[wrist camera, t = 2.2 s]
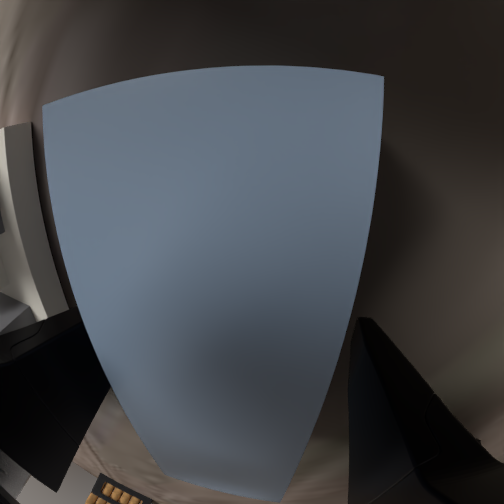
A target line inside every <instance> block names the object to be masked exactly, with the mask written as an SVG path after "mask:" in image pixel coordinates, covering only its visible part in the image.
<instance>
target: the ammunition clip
mask: <svg viewBox="0 0 504 504" xmlns="http://www.w3.org/2000/svg"><path fill="white" fill-rule="evenodd" d="M105 485H106V486H105ZM104 487H105V488H104ZM113 490H114V491H113ZM112 492H113V493H112ZM111 494H112V495H111ZM110 496H111V497H110ZM131 497H132V498H131ZM98 498H99V499H98ZM97 499H98V500H97ZM119 499H120V500H119ZM130 499H131V500H130ZM96 501H97V502H96ZM118 501H119V502H118ZM129 501H130V502H129ZM140 501H141V502H140ZM151 502H152V499H150V498H148V497H146V496H144V495H142V494H139V493H137V492H135V491H133V490H131V489H129V488H127V487H125V486H123V485H122V484H120V483H118V482H116V481H114V480H112V479H111V478H109V477H107V476H105V475H104V474H102V473H100V475H99V477H98V479H97V481H96V483H95V485H94V487H93V489H92V492H91V493H90V495H89V497H88V499H87V500H86V503H85V504H95V503H96V504H106V503H107V504H128V503H129V504H139V503H140V504H151Z"/></svg>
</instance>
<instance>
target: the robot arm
mask: <svg viewBox="0 0 504 504" xmlns="http://www.w3.org/2000/svg"><path fill="white" fill-rule="evenodd" d="M110 387H111V385H110V383H109V381H108V379H107V376H106V374H105V372H104V370H103V368H102V366H101V364H100V361H99V359H98V357H97V354H96V352H95V350H94V347H93V345H92V343H91V340H90V338H89V335H88V333H87V330H86V328H85V325H84V322H83V320H82V317H81V314H80V311H79V308H78V306H77V307H74V308H71V309H69V310H66V311H64V312H61V313H59V314H56V315H54V316H51V317H49V318H46V320H45V319H43V320H41V321H38V322H36V323H33V324H31V325H28V326H25V327H23V328H20V329H17V330H14V331H11V332H8V333H5V334H2V335H0V504H20V503H19V502H18V501H17V500H16V498H17V497H18V495H19V494H20V492H21V490H22V489H23V487H24V486H25V484H26V483H27V481H28V480H29V478H30V476H31V475H32V476H33V477H34V478H36V479H37V480H38V481H40V482H41V483H43V484H44V485H46V486H47V487H49V488H50V489H51V490H53V491H54V492H57V491H58V490H59V488H60V486H61V483H62V481H63V479H64V477H65V475H66V473H67V470H68V468H69V466H70V464H71V462H72V460H73V458H74V456H75V454H76V452H77V450H78V448H79V445H80V444H81V442H82V440H83V438H84V436H85V434H86V432H87V430H88V428H89V426H90V424H91V422H92V420H93V419H94V417H95V415H96V413H97V411H98V409H99V407H100V405H101V404H102V402H103V400H104V398H105V396H106V394H107V393H108V391H109V389H110ZM348 406H349V488H348V504H504V464H503V463H501V462H499V461H498V460H496V459H495V458H494V457H493V456H492V455H491V454H489V452H488V451H487V450H486V449H485V448H484V447H483V446H482V445H481V442H480V440H476V439H475V438H474V437H473V436H472V435H471V434H470V432H469V431H468V430H467V429H466V428H465V427H464V426H463V425H462V424H461V423H460V422H459V421H458V420H457V419H456V417H455V416H454V415H453V414H452V413H451V412H450V411H449V409H448V408H447V407H446V406H445V405H444V403H443V402H442V401H441V400H440V398H439V397H438V396H437V395H436V394H434V391H433V390H432V389H431V387H430V386H429V385H428V384H427V382H426V381H425V380H424V379H423V378H422V376H421V375H420V374H419V373H418V371H417V370H416V369H415V368H414V367H413V365H412V364H411V363H410V362H409V361H408V359H407V358H406V357H405V356H404V355H403V354H402V352H401V351H400V350H399V349H398V348H397V347H396V345H395V344H394V343H393V342H392V341H391V340H390V338H389V337H388V336H387V335H386V334H385V333H384V331H383V330H382V329H381V328H380V327H379V326H378V325H377V323H376V322H375V321H374V320H373V319H372V318H367V317H359V318H358V319H357V321H356V324H355V328H354V332H353V335H352V339H351V345H350V365H349V380H348Z"/></svg>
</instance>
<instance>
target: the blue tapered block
mask: <svg viewBox="0 0 504 504" xmlns="http://www.w3.org/2000/svg"><path fill="white" fill-rule="evenodd" d="M383 97H384V76H379V75H373V74H367V73H360V72H353V71H346V70H337V69H328V68H316V67H301V66H230V67H215V68H203V69H194V70H185V71H177V72H170V73H164V74H158V75H152V76H146V77H141V78H136V79H131V80H127V81H122V82H118V83H114V84H110V85H106V86H102V87H98V88H94V89H91V90H87V91H84V92H81V93H77V94H74V95H71V96H68V97H65V98H62V99H59V100H56V101H54V102H51V103H48V104H45V105H43V135H44V150H45V161H46V170H47V178H48V185H49V192H50V198H51V204H52V210H53V215H54V220H55V225H56V230H57V235H58V239H59V243H60V247H61V252H62V255H63V259H64V263H65V267H66V270H67V274H68V277H69V281H70V284H71V287H72V290H73V293H74V297H75V300H76V303H77V305H78V308H79V311H80V314H81V317H82V320H83V322H84V325H85V328H86V330H87V333H88V335H89V338H90V340H91V343H92V345H93V347H94V350H95V352H96V354H97V357H98V359H99V361H100V364H101V366H102V368H103V370H104V372H105V374H106V376H107V379H108V381H109V383H110V385H111V387H112V389H113V391H114V393H115V395H116V396H117V398H118V400H119V402H120V404H121V406H122V408H123V410H124V411H125V413H126V415H127V417H128V418H129V420H130V422H131V424H132V425H133V427H134V429H135V430H136V432H137V434H138V435H139V437H140V439H141V440H142V442H143V443H144V445H145V447H146V448H147V450H148V451H149V453H150V454H151V456H152V457H153V459H154V460H155V462H156V463H157V464H158V466H159V467H160V469H161V470H162V472H163V473H164V474H165V475H167V476H170V477H173V478H176V479H179V480H182V481H185V482H188V483H191V484H195V485H198V486H202V487H205V488H209V489H213V490H216V491H221V492H225V493H229V494H233V495H238V496H243V497H248V498H254V499H259V500H266V501H272V502H281V500H282V498H283V496H284V494H285V492H286V490H287V488H288V486H289V484H290V481H291V479H292V477H293V475H294V473H295V471H296V469H297V466H298V464H299V462H300V460H301V457H302V455H303V453H304V451H305V448H306V446H307V443H308V441H309V439H310V436H311V434H312V431H313V429H314V426H315V424H316V421H317V418H318V416H319V413H320V411H321V408H322V405H323V402H324V400H325V397H326V394H327V391H328V388H329V385H330V382H331V379H332V376H333V373H334V370H335V367H336V364H337V361H338V358H339V354H340V351H341V348H342V344H343V341H344V337H345V334H346V330H347V327H348V323H349V319H350V316H351V312H352V308H353V304H354V300H355V296H356V292H357V287H358V283H359V279H360V274H361V269H362V265H363V260H364V255H365V250H366V245H367V240H368V234H369V228H370V223H371V217H372V210H373V204H374V197H375V190H376V182H377V174H378V165H379V156H380V145H381V133H382V118H383Z"/></svg>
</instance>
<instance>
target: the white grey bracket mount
mask: <svg viewBox="0 0 504 504" xmlns="http://www.w3.org/2000/svg"><path fill="white" fill-rule="evenodd" d="M66 310H69V308H68V305H67V302H66V299H65V296H64V293H63V291H62V287H61V284H60V281H59V278H58V275H57V272H56V268H55V265H54V261H53V258H52V254H51V250H50V247H49V243H48V239H47V234H46V230H45V226H44V221H43V216H42V211H41V206H40V201H39V195H38V189H37V182H36V175H35V167H34V158H33V147H32V132H31V122H27V123H22V124H17V125H13V126H8V127H4V128H2V129H0V335H2V334H5V333H8V332H11V331H14V330H17V329H20V328H23V327H25V326H28V325H31V324H33V323H36V322H38V321H41V320H43V319H45V320H46V318H49V317H51V316H54V315H56V314H59V313H61V312H64V311H66Z"/></svg>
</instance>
